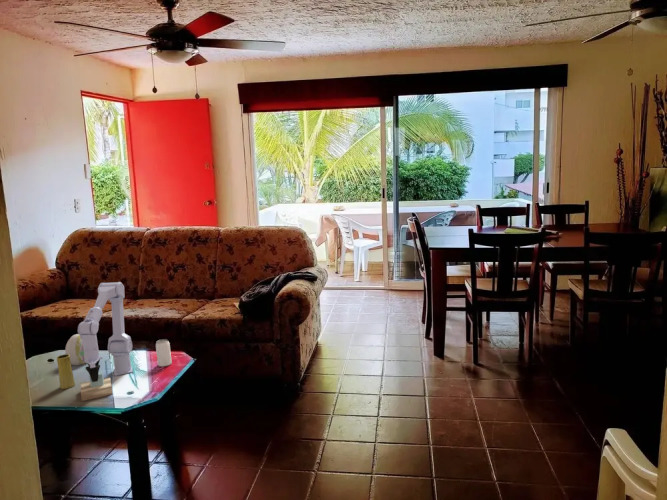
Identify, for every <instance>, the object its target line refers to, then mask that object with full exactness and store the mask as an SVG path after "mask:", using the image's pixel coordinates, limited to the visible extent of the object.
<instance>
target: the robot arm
mask: <svg viewBox="0 0 667 500" xmlns="http://www.w3.org/2000/svg"><path fill="white" fill-rule="evenodd" d="M97 293H98V295H97V297H96V300H95V302H94V306H93V307H91V308H89V310H88V312H87V314H86V315H85V317H84V319H83V321H81V322H80V323H79V324H78V326H77V334H79V335H80V338H81V339H82V342H83V349H84V356H85V362H86V363H85V364H87V366H85V371H86V372H87V373H88V375H89V376H90V377H91V380H92V382H96V381H98V372H99V371H100V368H101V365H100V360H101V359H103V355H100V350H99V345H98V337H97V333H98V331H99V326H100V323H99V322H100V320H101V318H102V316H103V314H104V311H103V309H104V307H105V306H106V304H107V302H108V301H110V303H111V304H110V305H111V317H112V321H111V322H112V323H111V324H112V335H111V336H110V337H109V338H108V343H107V351H108V353H109V354H110V355H111V357H112V358H113V359H112V360H113V365H114V368H113V372H114V376H115V377H116V376H122V375H125V374H131V373H133V372H134V371H133V367H132V364H131V356H130V353H131V352H132V350H133V341H132V338H131V336H130V335H128V334H127V333H125V330H126V329H125V316H124V315H125V313H124V299H125V286H124V284H123V283H122V282H121V281H118V282H100V284H99V285H98V288H97ZM90 377H89V378H90Z"/></svg>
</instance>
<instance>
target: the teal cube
mask: <svg viewBox="0 0 667 500" xmlns="http://www.w3.org/2000/svg"><path fill="white" fill-rule="evenodd" d="M88 377H89V382H90V384H91V388H92V387H97V386H102V385H104V380H103V379H104V373H103V370H99V372H98V381H96V382H92V380H91V377H90V375H89V376H88Z"/></svg>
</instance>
